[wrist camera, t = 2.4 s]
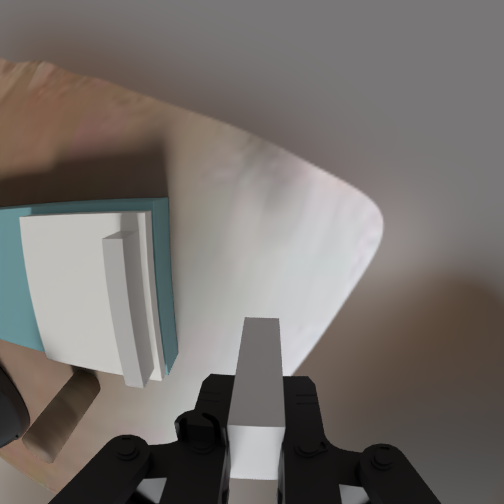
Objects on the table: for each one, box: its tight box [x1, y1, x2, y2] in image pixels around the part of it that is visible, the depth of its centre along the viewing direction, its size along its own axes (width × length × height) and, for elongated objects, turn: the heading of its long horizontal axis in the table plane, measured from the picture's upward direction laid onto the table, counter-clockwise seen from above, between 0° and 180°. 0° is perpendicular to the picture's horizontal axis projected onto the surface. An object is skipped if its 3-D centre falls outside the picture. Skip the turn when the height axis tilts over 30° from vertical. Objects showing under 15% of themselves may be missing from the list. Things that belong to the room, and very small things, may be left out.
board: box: [0, 198, 178, 375], centre depth 20 cm, size 20×12×3 cm, turn 89°
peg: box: [22, 370, 100, 463], centre depth 19 cm, size 3×3×10 cm
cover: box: [19, 211, 166, 388], centre depth 17 cm, size 10×11×3 cm
